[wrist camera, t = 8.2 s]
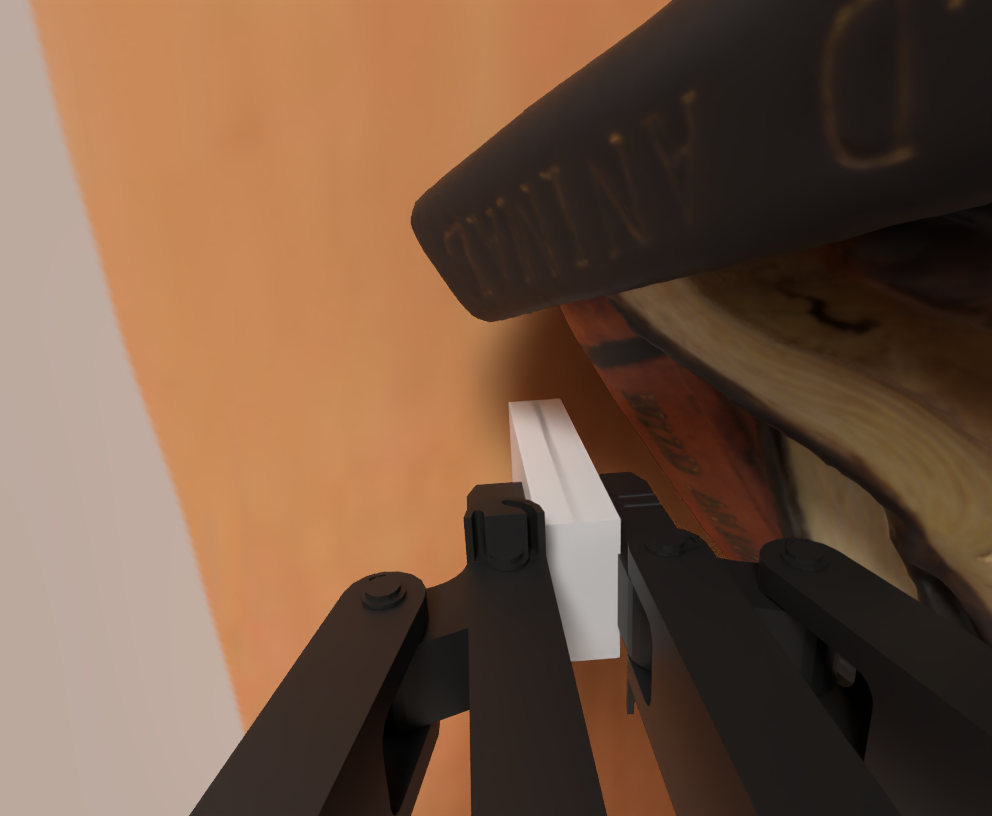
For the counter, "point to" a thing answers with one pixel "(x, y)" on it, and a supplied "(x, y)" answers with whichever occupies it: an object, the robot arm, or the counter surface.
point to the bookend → (770, 269)
